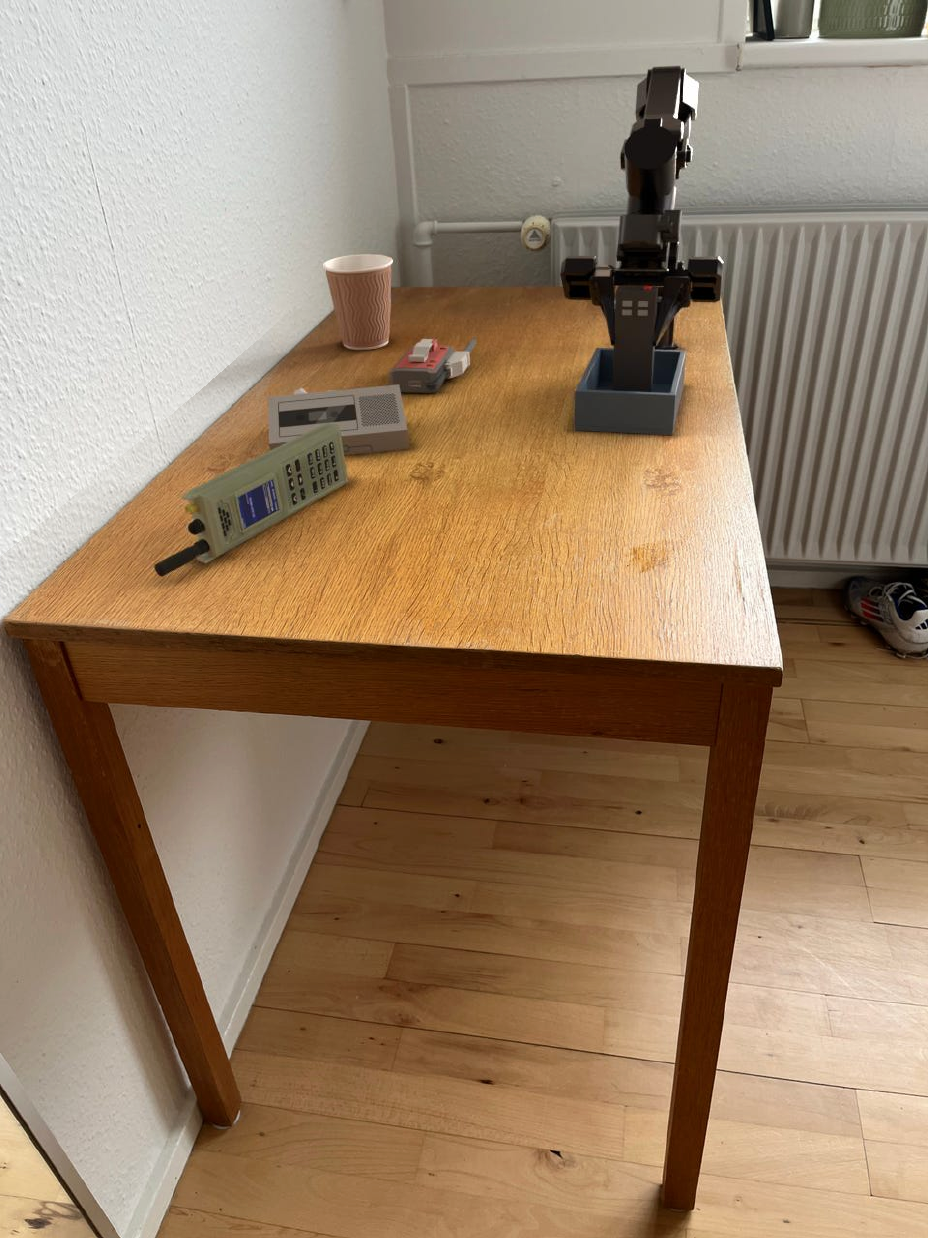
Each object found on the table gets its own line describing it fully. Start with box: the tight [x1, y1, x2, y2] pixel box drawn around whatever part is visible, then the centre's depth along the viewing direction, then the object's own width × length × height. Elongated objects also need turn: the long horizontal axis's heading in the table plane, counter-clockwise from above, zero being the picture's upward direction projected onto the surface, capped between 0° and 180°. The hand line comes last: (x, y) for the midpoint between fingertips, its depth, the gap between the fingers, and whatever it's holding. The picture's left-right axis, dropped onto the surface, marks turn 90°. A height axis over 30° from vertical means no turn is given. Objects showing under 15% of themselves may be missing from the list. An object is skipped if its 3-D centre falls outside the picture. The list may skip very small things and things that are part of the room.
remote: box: [612, 286, 658, 392], centre depth 113 cm, size 2×5×13 cm, turn 75°
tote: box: [573, 347, 687, 436], centre depth 116 cm, size 16×11×5 cm
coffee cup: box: [322, 253, 394, 351], centre depth 143 cm, size 10×10×12 cm
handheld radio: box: [153, 423, 349, 577], centre depth 93 cm, size 7×3×25 cm
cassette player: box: [267, 384, 410, 456], centre depth 112 cm, size 16×3×10 cm
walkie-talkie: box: [388, 338, 478, 394], centre depth 132 cm, size 9×4×20 cm
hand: (633, 344), depth 112 cm, fingers closed on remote, 4 cm apart
